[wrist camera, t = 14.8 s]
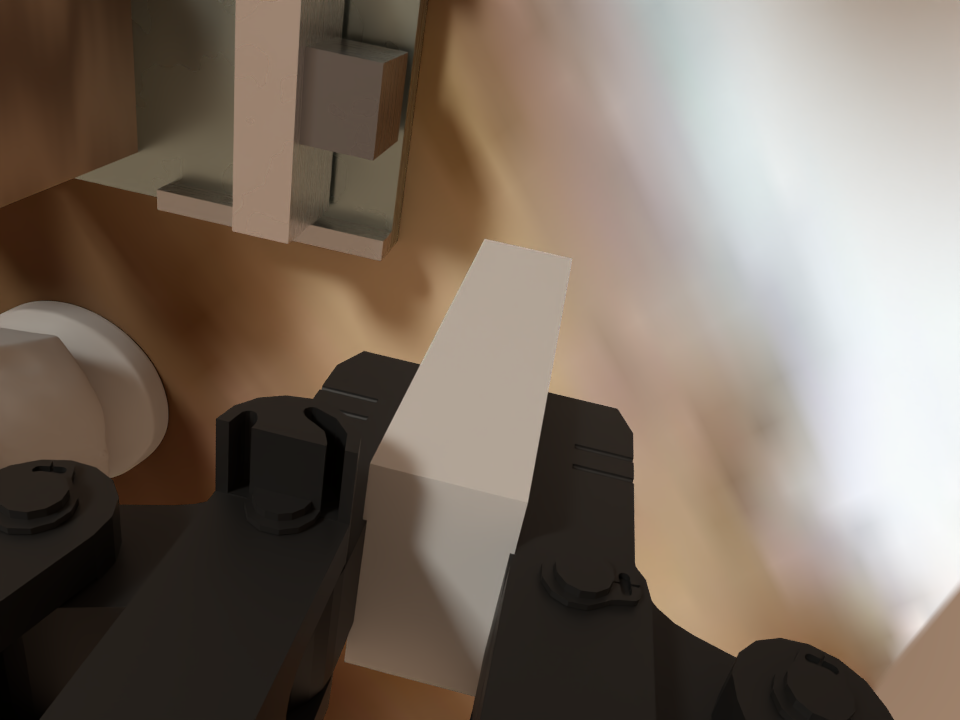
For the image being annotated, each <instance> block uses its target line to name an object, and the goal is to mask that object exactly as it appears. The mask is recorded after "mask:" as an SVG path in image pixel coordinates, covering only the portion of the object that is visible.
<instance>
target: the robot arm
mask: <svg viewBox="0 0 960 720" xmlns="http://www.w3.org/2000/svg"><path fill="white" fill-rule="evenodd" d="M571 263H572V258H568V257H563V256H559V255H554V254H550V253H545V252H541V251H537V250H532V249H528V248H523V247H519V246H515V245H510V244H506V243H501V242H497V241H492V240H488V239H484V241H483V243H482V245H481V247H480V249H479V251H478V253H477V255H476V257H475V259H474V260H473V262H472V264H471V266H470V268H469V270H468V272H467V274H466V276H465V278H464V280H463V282H462V284H461V286H460V288H459V290H458V292H457V294H456V296H455V298H454V300H453V302H452V304H451V306H450V308H449V309H448V311H447V313H446V315H445V317H444V319H443V321H442V323H441V325H440V327H439V329H438V331H437V333H436V335H435V337H434V339H433V341H432V343H431V345H430V347H429V349H428V351H427V353H426V355H425V357H424V359H423V360H422V362H421V364H416V363H412V362H407V361H403V360H399V359H395V358H391V357H386V356H382V355H378V354H374V353H370V352H366V351H363V352H362V353H360V354H358V355H356V356H354V357H352V358H350V359H348V360H346V361H344V362H342V363H340V364H338V365H337V366H336V367H335V369H334V370H333V372H332V373H331V374H330V376H329V377H328V379H327V380H326V381H325V383H324V384H323V386H322V390H319V391H318V393H317V394H316V395H315V397H314V398H313V399H309V398H301V397H294V396H274V397H262V398H256V399H253V400H250V401H247V402H244V403H241V404H238V405H235V406H233V407H232V408H230V409H229V410H228V411H226V412H225V413H223V414H222V415H221V416H219V417H218V418H217V419H216V491H215V492H214V493H213V495H212V496H211V497H210V499H209V500H208V501H207V502H203V503H198V504H188V505H119V497H118V494H117V491H116V488H115V485H114V482H113V480H112V479H111V478H109V477H108V476H107V475H106V474H104V473H103V472H102V471H100V470H99V469H98V468H96V467H93V466H90V465H86V464H83V463H79V462H76V461H72V460H36V461H31V462H25V463H20V464H14V465H9V466H7V467H5V468H2V469H0V720H323V718H324V716H325V713H326V711H327V708H328V704H329V698H330V692H331V685H332V677H333V671H334V668H335V666H336V663H337V661H338V659H339V656H340V654H341V651H342V649H343V647H344V644H345V642H346V639H347V645H346V652H345V660H344V662H347V663H351V664H355V665H358V666H362V667H366V668H370V669H373V670H377V671H381V672H385V673H388V674H392V675H396V676H400V677H403V678H407V679H411V680H415V681H418V682H422V683H426V684H430V685H433V686H437V687H441V688H445V689H448V690H452V691H456V692H460V693H463V694H467V695H471V696H475V700H474V705H473V710H472V714H471V717H470V720H894V719H893V718H892V716H891V714H890V713H889V711H888V709H887V708H886V706H885V705H884V704H883V703H882V701H881V700H880V699H879V697H878V696H877V695H876V694H875V692H874V691H873V690H872V688H871V687H870V686H869V685H868V683H867V682H866V681H865V680H864V679H862V678H861V677H860V676H859V675H858V674H856V673H855V672H854V671H853V670H851V669H850V668H849V667H848V666H846V665H845V664H844V663H843V662H841V661H840V660H839V659H837V658H835V657H833V656H831V655H829V654H827V653H825V652H823V651H821V650H819V649H817V648H815V647H813V646H811V645H809V644H805V643H800V642H796V641H791V640H787V639H783V638H776V639H767V640H758V641H755V642H754V643H752V644H751V645H749V646H748V647H746V648H745V649H744V650H742V651H741V652H739V654H738V656H737V658H736V657H734V656H732V655H730V654H728V653H726V652H724V651H722V650H720V649H719V648H717V647H715V646H713V645H711V644H709V643H707V642H705V641H703V640H701V639H699V638H698V637H696V636H694V635H692V634H691V633H689V632H688V631H686V630H684V629H683V628H681V627H680V626H678V625H676V624H675V623H674V622H672V621H671V620H670V619H669V618H668V617H667V616H666V615H664V614H663V613H662V612H661V611H660V610H659V609H658V608H657V607H656V606H655V605H654V603H653V602H652V600H651V597H650V593H649V590H648V586H647V582H646V580H645V578H644V577H643V576H642V574H641V573H640V572H639V571H638V569H637V568H636V566H635V537H634V484H633V479H634V463H632V462H633V432H632V431H631V429H630V428H629V426H628V425H627V423H626V421H625V420H624V418H623V417H622V415H621V414H620V412H619V410H618V409H616V408H612V407H608V406H603V405H599V404H595V403H591V402H587V401H582V400H578V399H574V398H570V397H566V396H561V395H557V394H553V393H549V392H548V389H549V384H550V378H551V373H552V367H553V362H554V356H555V351H556V345H557V340H558V334H559V329H560V323H561V318H562V312H563V307H564V301H565V296H566V290H567V285H568V279H569V274H570V268H571Z"/></svg>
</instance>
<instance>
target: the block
mask: <svg viewBox="0 0 960 720" xmlns="http://www.w3.org/2000/svg"><path fill="white" fill-rule="evenodd" d="M135 153H138V139H137V118H136V97H135V76H134V55H133V34H132V13H131V0H0V208H1V207H4V206H6V205H9V204H11V203H14V202H16V201H19V200H21V199H24V198H26V197H29V196H31V195H33V194H36V193H38V192H41V191H43V190H46V189H48V188H51V187H53V186H56V185H58V184H61V183H63V182H66V181H68V180H71V179H73V178H76V177H78V176H81V175H83V174H86V173H88V172H90V171H93V170H95V169H98V168H100V167H103V166H105V165H108V164H110V163H113V162H115V161H118V160H120V159H123V158H125V157H128V156H130V155H133V154H135Z"/></svg>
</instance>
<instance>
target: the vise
mask: <svg viewBox="0 0 960 720" xmlns="http://www.w3.org/2000/svg"><path fill="white" fill-rule="evenodd" d="M427 5H428V0H345V4H344V17H343V30H342V38H343V39H348V40H353V41H357V42H362V43H367V44H372V45H376V46H381V47H386V48H391V49H395V50H400V51H405V52H408V59H407V68H406V76H405V84H404V93H403V101H402V110H401V118H400V126H399V135H398V141H397V142H396V143H395V144H393V145H392V146H391V147H390V148H388V149H387V150H386V151H385V152H383V153H382V154H381V155H380V156H378V157H377V158H376V159H375V160H374V161H373V160H368V159H364V158H359V157H355V156H350V155H346V154H341V153H337V152H333V157H332V170H331V182H330V195H329V208H328V211H326V212H325V213H324V214H323V215H322V216H321V217H319V218H318V219H317V220H316V221H315V222H313V223H312V224H311V225H310V226H309V227H308V228H306V229H305V230H304V231H303V232H302V233H301V234H299V235H298V236H297V237H296V238H295V239H293V240H292V241H296V242H300V243H304V244H309V245H313V246H317V247H322V248H326V249H330V250H335V251H339V252H343V253H348V254H352V255H356V256H361V257H365V258H369V259H374V260H378V261H381V260H382V259H383V258H384V257H385V256H386V254H387V253H388V252H389V251H390V249H391V248H392V247H393V246H394V244H395V243H396V242H397V241H398V233H399V225H400V217H401V209H402V202H403V194H404V186H405V178H406V170H407V162H408V154H409V146H410V139H411V131H412V123H413V115H414V107H415V99H416V91H417V83H418V76H419V68H420V60H421V52H422V44H423V36H424V28H425V21H426V13H427ZM235 11H236V0H131V13H132V34H133V55H134V76H135V97H136V118H137V139H138V153H135V154H133V155H130V156H128V157H125V158H123V159H120V160H118V161H115V162H113V163H110V164H108V165H105V166H103V167H100V168H98V169H95V170H93V171H90V172H88V173H86V174H83V175H81V176H78V177H76V179H80V180H85V181H89V182H93V183H98V184H102V185H106V186H111V187H115V188H119V189H124V190H128V191H133V192H137V193H141V194H146V195H150V196H154V197H157V210H162V211H166V212H170V213H175V214H179V215H183V216H188V217H192V218H196V219H200V220H205V221H209V222H213V223H218V224H222V225H226V226H231V227H232V209H233V143H234V77H235Z"/></svg>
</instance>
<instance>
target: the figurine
mask: <svg viewBox="0 0 960 720" xmlns="http://www.w3.org/2000/svg"><path fill="white" fill-rule="evenodd" d="M167 426H168V403H167V398H166V394H165V390H164V387H163V385H162V382H161V380H160V377H159V375H158V373H157V371H156V369H155V368H154V366H153V364H152V363H151V361H150V360H149V358H148V357H147V356H146V354H145V353H144V352H143V351H142V349H141V348H140V347H139V346H138V345H137V344H136V343H135V342H134V341H133V340H132V339H131V338H130V337H129V336H128V335H127V334H126V333H124V332H123V331H122V330H121V329H119V328H118V327H117V326H115V325H114V324H112V323H111V322H109V321H108V320H106V319H105V318H103V317H101V316H99V315H98V314H96V313H94V312H92V311H89V310H87V309H84V308H82V307H79V306H76V305H72V304H68V303H63V302H57V301H35V302H29V303H25V304H22V305H19V306H17V307H15V308H13V309H10V310H8V311H6V312H4V313H2V314H0V469H2V468H5V467H7V466H9V465H14V464H20V463H25V462H31V461H36V460H72V461H76V462H79V463H83V464H86V465H90V466H93V467H96V468H98V469H99V470H100V471H102V472H103V473H104V474H106V475H107V476H108V477H109V478H112V477H116V476H119V475H121V474H123V473H125V472H127V471H128V470H130V469H132V468H133V467H135V466H136V465H137V464H139V463H140V462H142V461H143V460H144V459H146V458H147V457H148V456H149V455H150V454H152V453H153V451H154V450H155V449H156V448H157V447H158V446H159V444H160V443H161V441H162V439H163V437H164V435H165V433H166V430H167Z"/></svg>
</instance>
